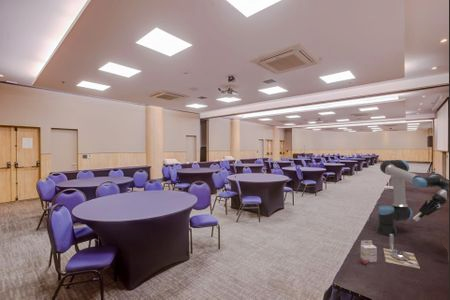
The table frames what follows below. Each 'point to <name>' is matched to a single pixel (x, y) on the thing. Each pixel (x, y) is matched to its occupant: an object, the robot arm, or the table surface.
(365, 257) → the ink cartridge box
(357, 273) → the table surface
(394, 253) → the cam capstan
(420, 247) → the table surface
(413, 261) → the level stand
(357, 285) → the table surface
